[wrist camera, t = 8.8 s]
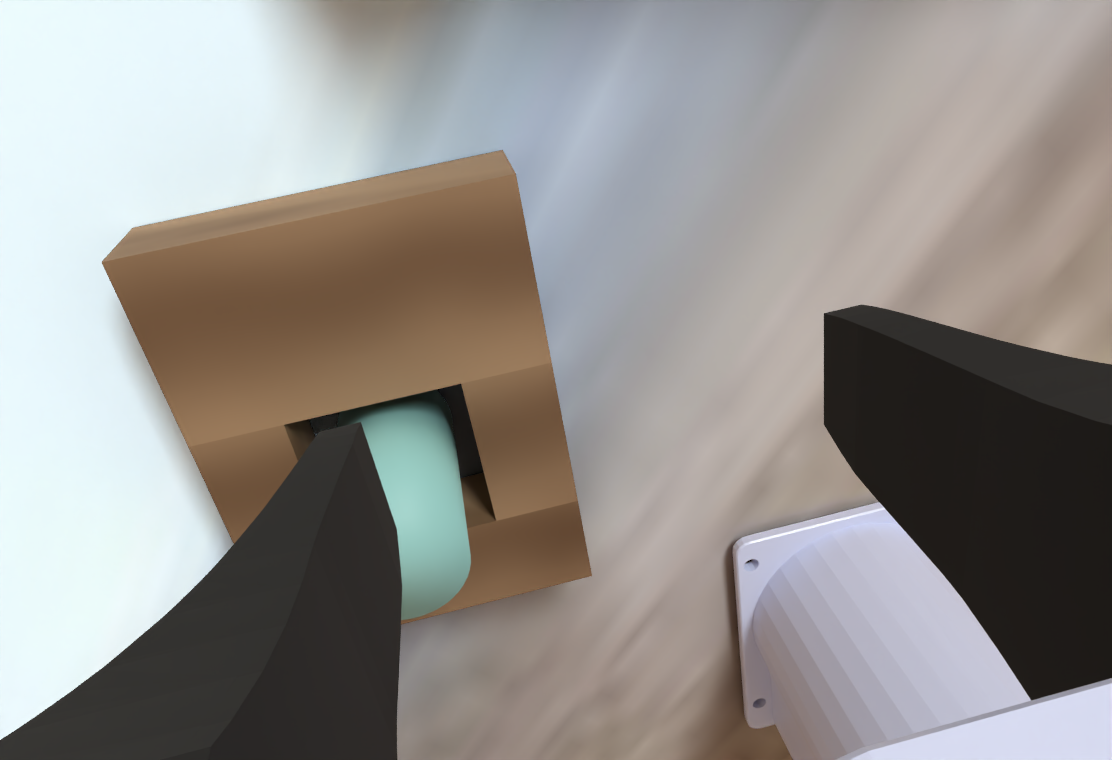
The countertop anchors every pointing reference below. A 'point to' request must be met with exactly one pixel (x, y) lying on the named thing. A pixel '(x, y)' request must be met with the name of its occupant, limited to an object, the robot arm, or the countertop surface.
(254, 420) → the socket board
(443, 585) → the peg
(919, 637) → the robot arm
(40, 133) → the countertop surface
